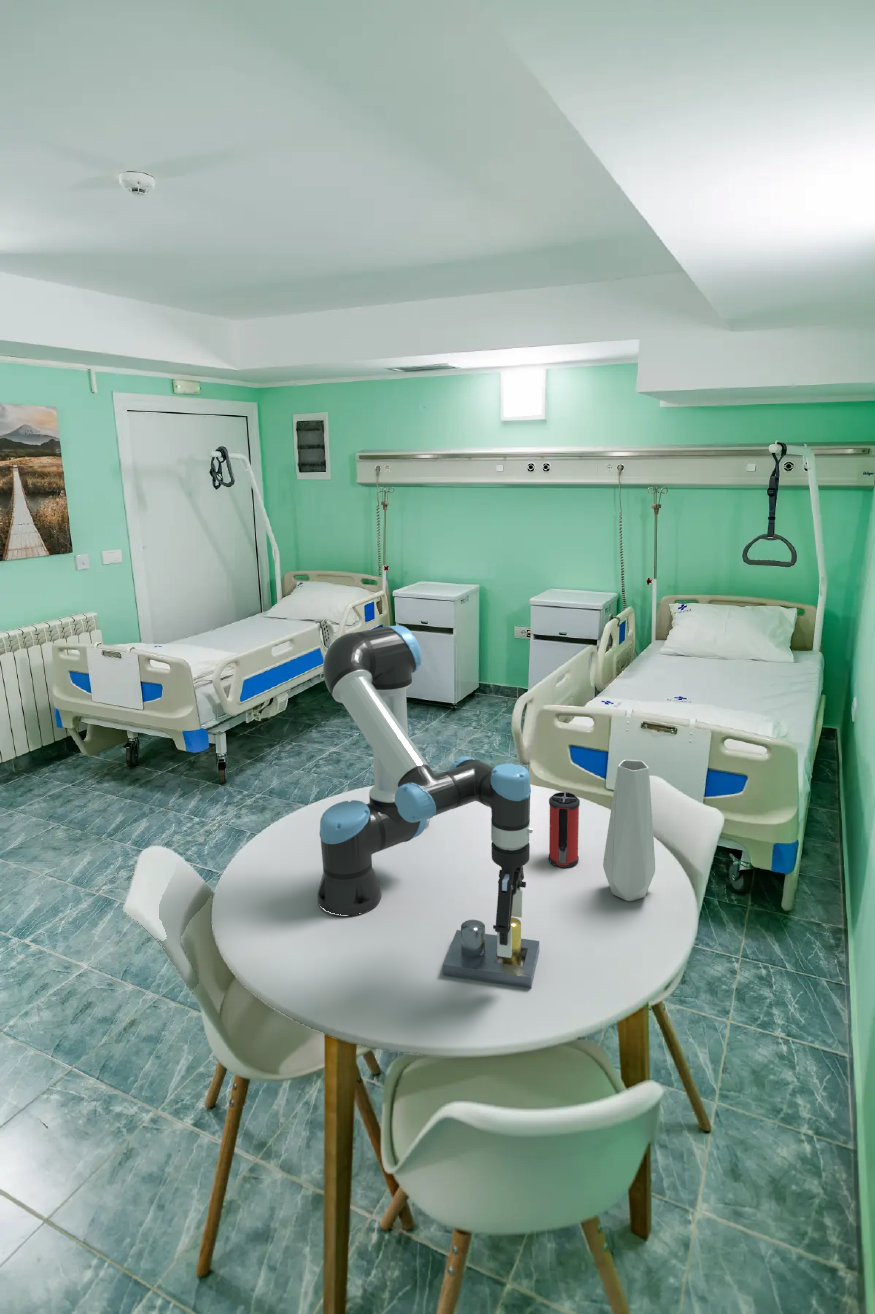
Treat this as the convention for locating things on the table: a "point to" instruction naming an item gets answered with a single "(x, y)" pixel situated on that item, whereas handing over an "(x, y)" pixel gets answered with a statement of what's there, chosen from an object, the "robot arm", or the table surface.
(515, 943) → the round pin
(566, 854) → the speaker
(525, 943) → the gray peg plate
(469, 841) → the table surface
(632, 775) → the vase
